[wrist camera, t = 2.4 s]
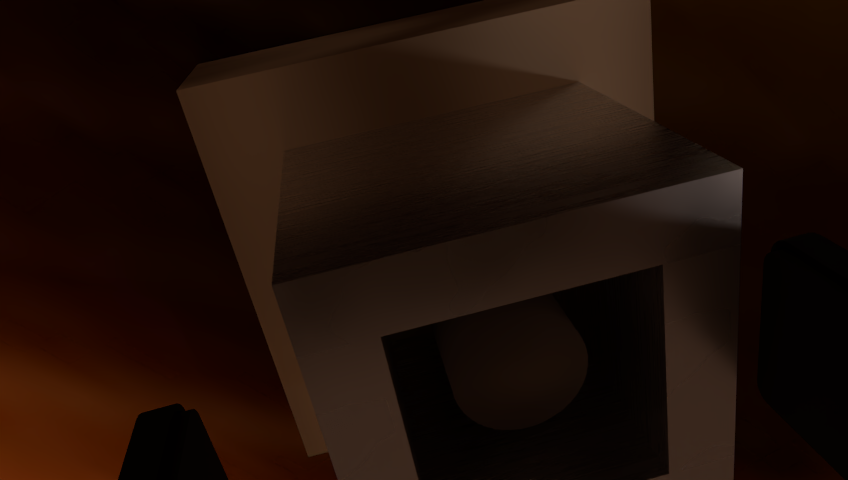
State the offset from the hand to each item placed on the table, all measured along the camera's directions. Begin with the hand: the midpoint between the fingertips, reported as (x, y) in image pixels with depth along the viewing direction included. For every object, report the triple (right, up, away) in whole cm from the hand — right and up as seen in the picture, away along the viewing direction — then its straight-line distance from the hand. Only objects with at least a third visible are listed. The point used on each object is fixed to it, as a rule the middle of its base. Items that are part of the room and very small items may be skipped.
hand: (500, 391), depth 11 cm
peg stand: (-1, +3, +8) cm, 9 cm away
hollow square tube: (0, +2, +5) cm, 6 cm away
